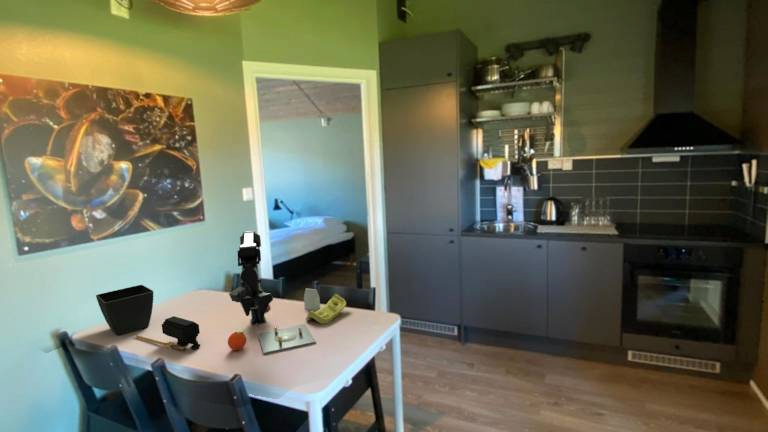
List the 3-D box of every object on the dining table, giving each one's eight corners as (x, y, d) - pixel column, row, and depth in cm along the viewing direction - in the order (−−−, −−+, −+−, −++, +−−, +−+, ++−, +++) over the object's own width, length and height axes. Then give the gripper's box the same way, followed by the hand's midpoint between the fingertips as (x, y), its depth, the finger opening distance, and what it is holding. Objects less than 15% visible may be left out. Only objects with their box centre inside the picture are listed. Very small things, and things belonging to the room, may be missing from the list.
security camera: (189, 352, 159) (186, 328, 158) (163, 343, 169) (160, 320, 168) (205, 345, 165) (202, 321, 164) (178, 337, 175) (176, 314, 174)
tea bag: (315, 311, 198) (314, 291, 197) (304, 309, 201) (303, 289, 200) (320, 308, 201) (318, 288, 200) (309, 306, 205) (308, 287, 203)
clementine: (248, 343, 166) (246, 326, 165) (251, 349, 159) (250, 332, 158) (227, 348, 162) (225, 331, 161) (230, 355, 156) (228, 337, 155)
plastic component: (325, 320, 179) (308, 308, 183) (321, 333, 182) (304, 321, 186) (349, 302, 196) (333, 292, 200) (345, 314, 199) (329, 304, 203)
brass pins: (274, 333, 171) (274, 327, 171) (299, 328, 175) (298, 322, 175) (279, 344, 161) (278, 337, 160) (304, 339, 165) (304, 332, 164)
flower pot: (100, 329, 188) (95, 294, 186) (146, 317, 201) (141, 283, 199) (110, 340, 175) (104, 302, 172) (158, 326, 188) (154, 291, 186)
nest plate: (257, 335, 173) (257, 333, 173) (304, 325, 180) (304, 323, 180) (263, 354, 155) (263, 352, 154) (315, 343, 162) (315, 341, 162)
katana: (137, 339, 178) (136, 333, 178) (187, 351, 160) (186, 344, 160) (133, 340, 177) (133, 334, 176) (183, 352, 159) (182, 346, 159)
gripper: (218, 280, 157) (222, 319, 158) (245, 285, 145) (249, 328, 146) (244, 274, 166) (247, 311, 167) (272, 278, 154) (275, 319, 155)
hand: (254, 317), depth 159 cm, fingers open, 9 cm apart
